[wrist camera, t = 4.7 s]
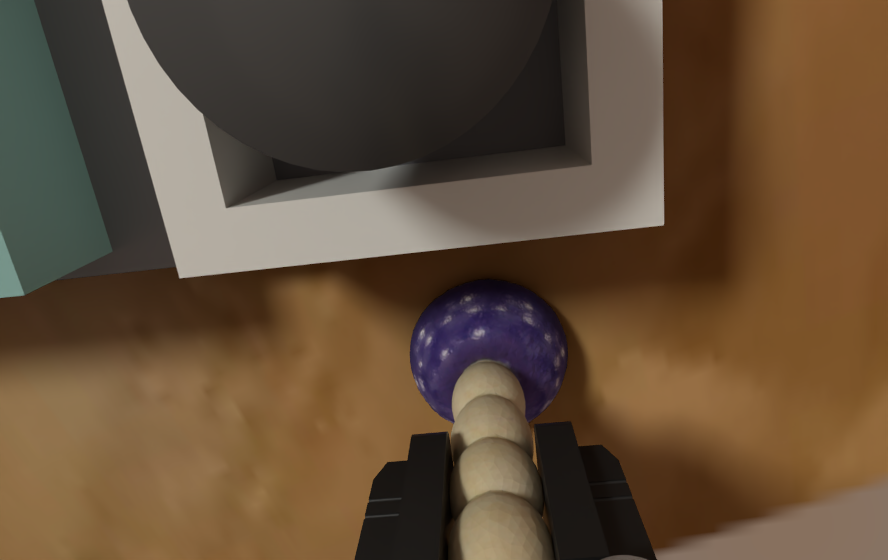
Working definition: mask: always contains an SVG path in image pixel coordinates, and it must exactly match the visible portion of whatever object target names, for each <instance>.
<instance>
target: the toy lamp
mask: <svg viewBox="0 0 888 560" xmlns="http://www.w3.org/2000/svg"><path fill="white" fill-rule="evenodd" d="M567 358H568V348H567V340H566V335H565V333H564V330H563V327H562V325H561V323H560V321H559V319H558V317H557V315H556V313H555V312H554V311H553V310H552V309H551V307H550V306H549V305H548V304H547V303H546V302H545V301H544V300H543V299H541V298H540V297H539V296H537V295H536V294H535V293H533V292H532V291H530V290H528V289H526V288H524V287H522V286H520V285H517V284H514V283H510V282H507V281H500V280H492V279H485V280H477V281H473V282H468V283H464V284H462V285H460V286H456V287H454V288H452V289H450V290H448V291H447V292H445V293H444V294H443V295H441V296H439V297H438V298H437V299H435V300H434V301H433V302H432V303H431V304H430V305H429V306H428V307H427V308H426V309H425V311H424V312H423V313H422V314H421V316H420V318H419V320H418V322H417V324H416V326H415V328H414V330H413V334H412V339H411V345H410V363H411V369H412V373H413V376H414V379H415V382H416V384H417V387H418V389H419V391H420V392H421V394H422V395H423V397H424V399H425V400H426V402H427V403H429V405H430V406H431V408H432V409H433V410H434V411H435V412H437V413H438V414H439V415H440V416H441V417H443V418H444V419H446V420H448V421H450V422H452V423H453V424H454V425H453V428H452V432H451V451H452V458H453V461H454V468H453V471H452V474H451V477H450V482H449V494H450V508H451V514H452V518H453V520H454V522H455V523H454V526H453V528H452V530H451V533H450V537H449V545H448V560H555V553H554V547H553V542H552V538H551V534H550V532H549V529H548V527H547V525H546V523H545V522H544V520H543V518H542V517H543V510H544V493H543V486H542V481H541V477H540V475H539V472H538V470H537V467H536V465H535V464H534V462H533V460H532V459H533V438H532V433H531V430H530V427H529V424H528V423H529V422H530V421H531V420H533V419H534V418H536V417H537V416H538V415H540V414H541V413H542V412H543V411H544V410H545V409H546V408H547V407H548V406H549V405H550V403H551V402H552V401H553V399H554V398H555V396H556V395H557V393H558V391H559V389H560V387H561V385H562V381H563V378H564V375H565V371H566V368H567Z"/></svg>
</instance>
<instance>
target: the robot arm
mask: <svg viewBox="0 0 888 560" xmlns="http://www.w3.org/2000/svg"><path fill="white" fill-rule="evenodd" d="M534 432H535V443H536V454H537V466H538V472H539V475H540V477H541V481H542V486H543V493H544V510H543V520H544V522H545V523H546V525H547V527H548V529H549V532H550V534H551V538H552V542H553V547H554V553H555V560H657V559H656V556H655V554H654V551H653V549H652V546H651V543H650V541H649V538H648V536H647V533H646V530H645V528H644V525H643V523H642V520H641V517H640V515H639V512H638V510H637V507H636V504H635V502H634V499H632V494H631V491H630V489H629V486H628V484H627V483H626V478H625V476H624V473H623V470H622V468H621V465H620V463H619V460H618V459H617V458H616V457H614V456H613V455H612V454H611V453H610V452H609V451H608V450H607V449H606V448H604V447H603V446H602V445H591V446H579V447H578V444H577V440H576V437H575V433H574V430H573V427H572V423H571V421H567V422H555V423H544V424H534ZM453 468H454V465H453V458H452V451H451V444H450V438H449V434H448V432H438V433H426V434H414V435H412V437H411V442H410V448H409V454H408V460H407V461H396V462H387V464H386V465H385V466H384V467H383V469H382V470H381V471H380V472H379V473H378V475H377V476H376V477H375V478H374V480H373V484H372V488H371V492H370V496H369V503H368V505H367V509H366V513H365V519H364V522H363V526H362V530H361V534H360V539H359V543H358V547H357V551H356V555H355V560H448V545H449V537H450V533H451V530H452V528H453V526H454V523H455V522H454V520H453V518H452V514H451V508H450V494H449V482H450V477H451V474H452V471H453Z"/></svg>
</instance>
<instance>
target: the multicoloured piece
mask: <svg viewBox="0 0 888 560" xmlns="http://www.w3.org/2000/svg"><path fill="white" fill-rule="evenodd" d="M662 225H664V145H663V17H662V0H0V298H5V297H14V296H23V295H26V294H28V293H30V292H32V291H34V290H36V289H38V288H40V287H42V286H44V285H46V284H48V283H50V282H52V281H54V280H63V279H72V278H81V277H90V276H99V275H108V274H117V273H126V272H135V271H144V270H153V269H162V268H171V267H177V271H178V274H179V278H187V277H196V276H205V275H215V274H224V273H233V272H242V271H251V270H260V269H269V268H279V267H288V266H297V265H306V264H315V263H324V262H333V261H342V260H352V259H361V258H370V257H379V256H388V255H397V254H406V253H416V252H425V251H434V250H443V249H452V248H461V247H470V246H479V245H489V244H498V243H507V242H516V241H525V240H534V239H543V238H553V237H562V236H571V235H580V234H589V233H598V232H607V231H616V230H626V229H635V228H644V227H653V226H662Z"/></svg>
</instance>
